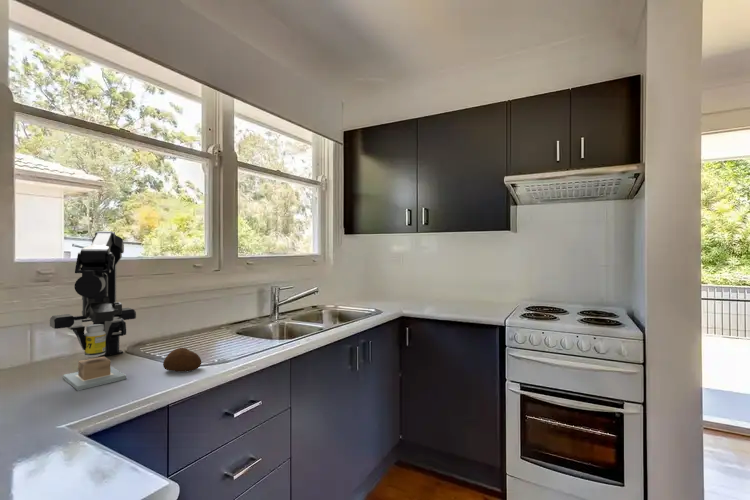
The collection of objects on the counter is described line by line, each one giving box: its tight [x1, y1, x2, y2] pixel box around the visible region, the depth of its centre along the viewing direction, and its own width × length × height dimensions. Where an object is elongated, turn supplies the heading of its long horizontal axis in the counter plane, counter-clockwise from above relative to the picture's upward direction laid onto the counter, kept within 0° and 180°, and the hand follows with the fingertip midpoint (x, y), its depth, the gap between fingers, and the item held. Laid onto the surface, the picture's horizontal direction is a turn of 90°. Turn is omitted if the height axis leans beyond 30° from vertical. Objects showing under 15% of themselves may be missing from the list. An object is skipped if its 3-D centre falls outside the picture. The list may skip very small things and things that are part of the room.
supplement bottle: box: [84, 324, 106, 358], centre depth 104 cm, size 5×5×8 cm
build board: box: [62, 365, 127, 391], centre depth 104 cm, size 14×11×1 cm
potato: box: [162, 347, 202, 373], centre depth 111 cm, size 7×10×7 cm
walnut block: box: [77, 356, 111, 380], centre depth 104 cm, size 6×6×4 cm
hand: (95, 347), depth 104 cm, fingers closed on supplement bottle, 5 cm apart
